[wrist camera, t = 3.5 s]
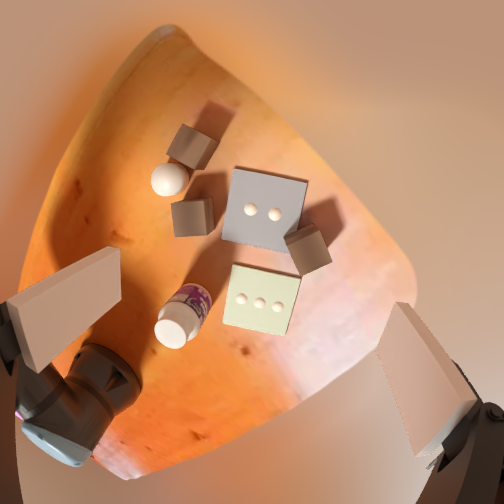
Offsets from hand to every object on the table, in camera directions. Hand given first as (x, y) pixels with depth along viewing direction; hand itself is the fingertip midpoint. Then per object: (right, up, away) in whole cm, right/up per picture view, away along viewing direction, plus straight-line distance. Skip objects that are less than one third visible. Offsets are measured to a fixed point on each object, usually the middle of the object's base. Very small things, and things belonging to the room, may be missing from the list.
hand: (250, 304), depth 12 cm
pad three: (+1, -4, +25) cm, 26 cm away
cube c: (+7, +3, +22) cm, 23 cm away
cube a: (-7, +7, +23) cm, 25 cm away
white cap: (-10, +12, +22) cm, 27 cm away
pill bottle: (-8, -4, +26) cm, 28 cm away
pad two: (+1, +7, +22) cm, 23 cm away
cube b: (-5, +14, +19) cm, 24 cm away
